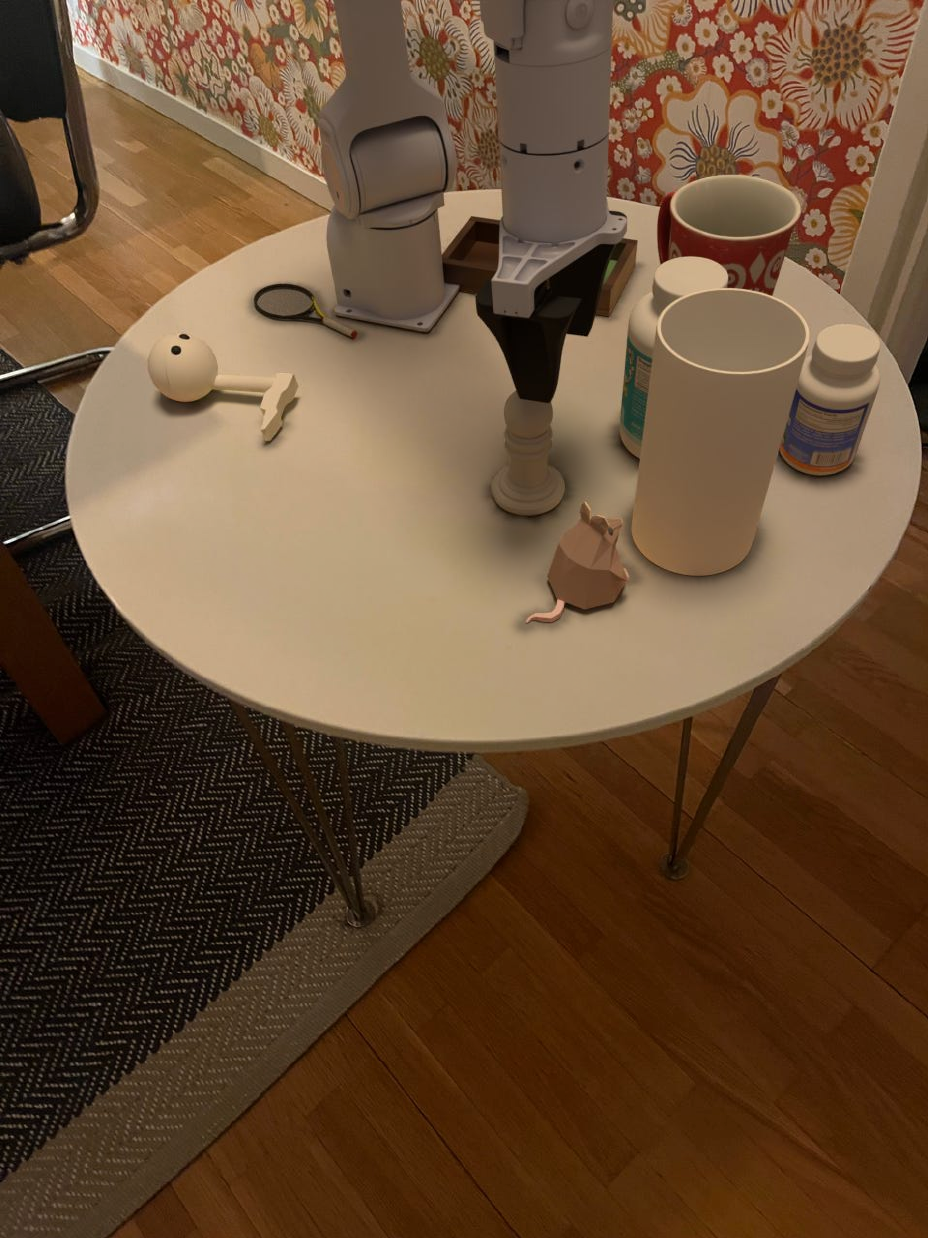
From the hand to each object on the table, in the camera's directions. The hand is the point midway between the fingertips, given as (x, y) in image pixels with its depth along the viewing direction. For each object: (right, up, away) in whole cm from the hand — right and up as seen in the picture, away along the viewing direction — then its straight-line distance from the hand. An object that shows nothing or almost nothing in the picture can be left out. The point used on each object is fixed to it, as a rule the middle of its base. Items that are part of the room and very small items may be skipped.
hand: (555, 363), depth 56 cm
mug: (+13, +6, +18) cm, 23 cm away
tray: (+1, +16, +26) cm, 31 cm away
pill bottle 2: (+20, -4, +9) cm, 23 cm away
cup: (+10, -10, +5) cm, 15 cm away
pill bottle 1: (+10, -3, +11) cm, 15 cm away
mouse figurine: (+1, -15, +3) cm, 15 cm away
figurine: (-32, +4, +16) cm, 36 cm away
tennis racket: (-22, +10, +23) cm, 34 cm away
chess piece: (-1, -7, +9) cm, 11 cm away
